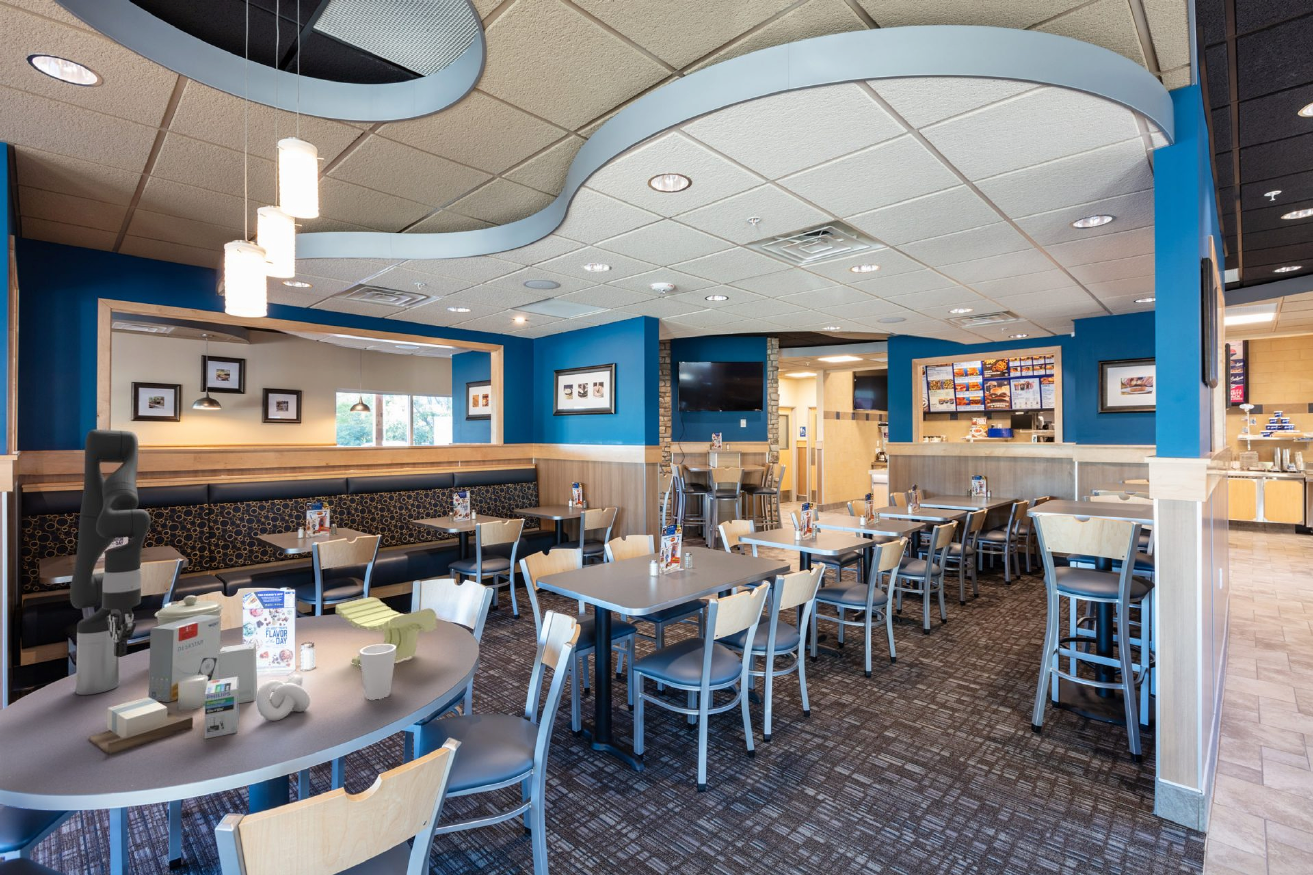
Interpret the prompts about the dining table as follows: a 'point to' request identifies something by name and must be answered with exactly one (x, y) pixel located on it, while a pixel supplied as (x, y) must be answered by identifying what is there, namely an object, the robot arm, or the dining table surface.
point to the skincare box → (240, 668)
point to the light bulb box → (221, 707)
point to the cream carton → (136, 716)
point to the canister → (187, 610)
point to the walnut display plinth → (140, 735)
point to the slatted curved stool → (388, 623)
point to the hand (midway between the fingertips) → (120, 655)
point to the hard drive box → (183, 654)
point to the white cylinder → (192, 692)
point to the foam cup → (377, 669)
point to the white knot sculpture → (282, 698)
